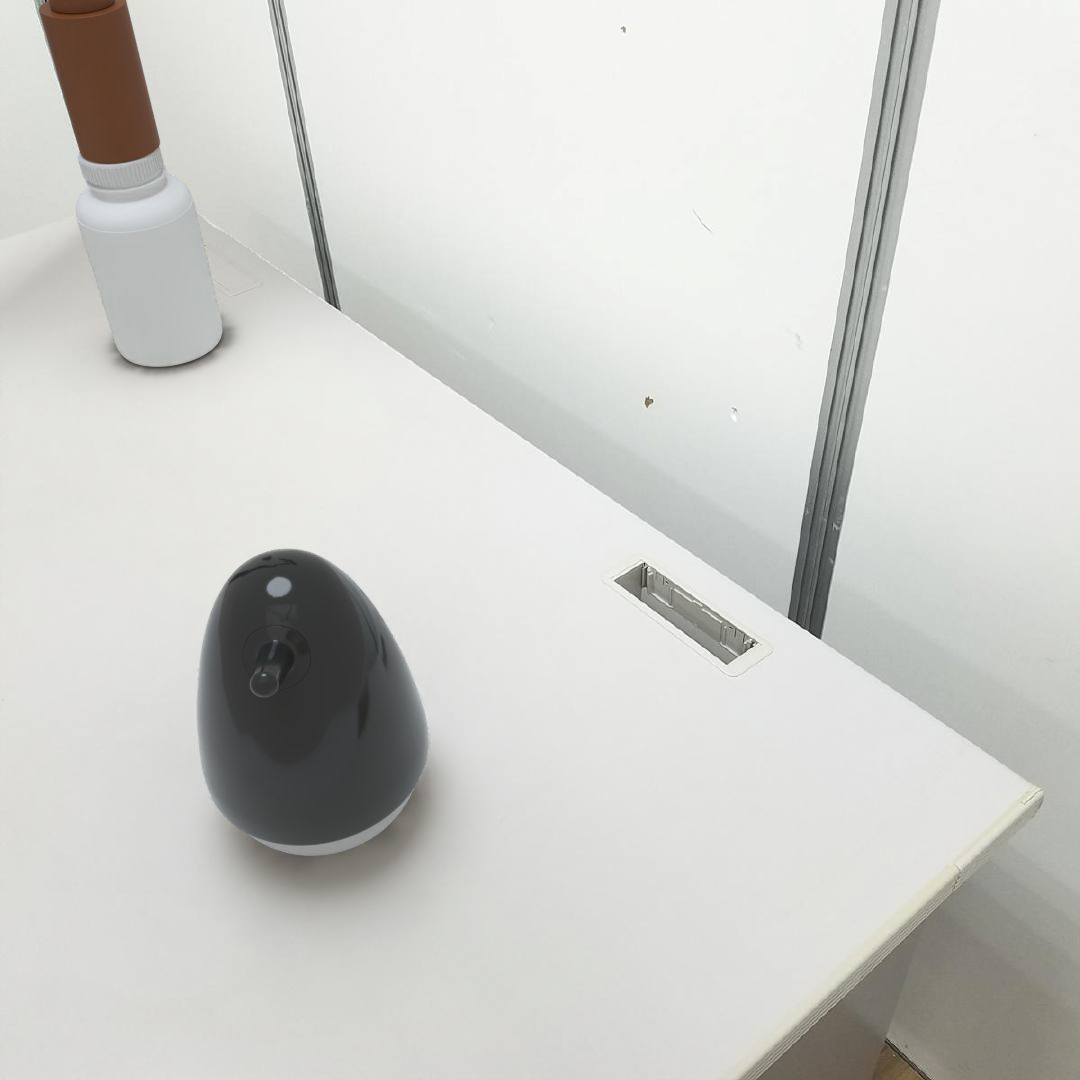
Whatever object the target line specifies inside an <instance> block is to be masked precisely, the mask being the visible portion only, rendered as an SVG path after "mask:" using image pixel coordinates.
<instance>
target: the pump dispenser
mask: <svg viewBox="0 0 1080 1080" xmlns="http://www.w3.org/2000/svg"><path fill="white" fill-rule="evenodd" d="M425 710H426V709H425V707H424V704H423V701H422V697H421V695H420V692H419V689H418V685H417V683H416V680H415V678H414V676H413V672H412V670H411V669H410V666H409V664H408V661H407V660H406V657H405V655H404V653H403V651H402V649H401V647H400V645H399V643H398V641H397V639H396V638H395V636H394V634H393V633H392V631H391V629H390V628H389V626H388V624H387V622H386V620H385V619H384V617H383V616H382V614H381V613H380V612H379V610H378V609H377V607H376V605H374V602H373V601H372V600H371V599H370V597H369V596H368V595H367V594H366V593H365V592H364V590H363V589H362V588H361V586H360V585H359V584H357V583H356V582H355V580H353V578H351V576H349V575H348V573H346V571H344V570H343V569H341V568H340V567H338V565H336V564H334V563H333V562H332V561H330V560H328V559H326V558H325V557H323V556H321V555H319V554H316V553H314V552H312V551H309V550H304V549H298V548H277V549H271V550H268V551H265V552H261V553H258V554H257V555H255V556H253V557H251V558H249V559H247V560H246V561H244V562H243V563H242V564H241V565H239V566H238V567H237V568H236V569H235V570H234V571H233V572H232V574H231V575H230V576H229V577H228V578H227V580H226V581H225V582H224V584H223V585H222V588H221V589H220V591H219V593H218V594H217V596H216V598H215V600H214V603H213V605H212V607H211V609H210V612H209V616H208V619H207V622H206V625H205V629H204V633H203V637H202V642H201V649H200V656H199V664H198V676H197V687H196V731H197V732H196V733H197V743H198V751H199V760H200V765H201V770H202V774H203V779H204V782H205V785H206V789H207V791H208V793H209V796H210V798H211V800H212V802H213V804H214V805H215V807H216V809H217V810H218V811H219V812H220V814H222V816H223V817H224V818H225V819H226V820H227V821H228V822H229V823H230V824H231V825H233V826H234V827H236V828H237V829H238V830H240V831H242V832H243V833H245V834H247V835H248V836H250V837H251V838H252V839H254V840H256V841H257V842H258V843H261V844H262V845H264V846H267V847H268V848H271V849H273V850H277V851H278V852H282V853H285V854H290V855H296V856H305V857H319V856H328V855H334V854H339V853H342V852H345V851H348V850H351V849H354V848H356V847H358V846H360V845H362V844H364V843H366V842H368V841H370V840H372V839H373V838H374V837H376V836H377V835H379V834H380V833H381V832H383V831H384V830H385V829H386V828H388V826H389V825H391V824H392V822H394V820H395V819H397V817H398V816H399V815H400V814H401V812H402V810H404V808H405V806H406V805H407V803H408V802H409V800H410V798H411V797H412V794H413V792H414V790H415V788H416V786H417V785H418V783H419V781H420V779H421V777H422V776H423V773H424V770H425V768H426V765H427V760H428V757H429V747H430V736H429V735H430V734H429V725H428V720H427V714H426V711H425Z"/></svg>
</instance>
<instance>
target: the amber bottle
mask: <svg viewBox="0 0 1080 1080" xmlns="http://www.w3.org/2000/svg"><path fill="white" fill-rule="evenodd" d="M38 13H39V16H40V20H41V23H42V27H43V30H44V34H45V37H46V41H47V44H48V47H49V48H48V49H49V52H50V55H51V58H52V61H53V65H54V69H55V72H56V75H57V79H58V82H59V85H60V88H61V92H62V96H63V100H64V102H65V106H66V109H67V113H68V117H69V120H70V123H71V127H72V129H73V133H74V137H75V141H76V144H77V148H78V151H79V152H80V154H81V156H82V157H83V158H85V159H87V160H89V161H93V162H99V163H119V162H126V161H131V160H135V159H138V158H142V157H144V156H147V155H149V154H151V153H152V152H154V151H155V150H156V149H157V148H158V147H160V145H161V138H160V135H159V131H158V126H157V121H156V118H155V113H154V110H153V105H152V101H151V98H150V93H149V90H148V85H147V81H146V77H145V72H144V68H143V64H142V61H141V55H140V52H139V47H138V43H137V39H136V35H135V31H134V26H133V21H132V19H131V14H130V10H129V5H128V2H127V0H47V1H45V2H43V3H42V4H41V5H40V6H39V7H38Z"/></svg>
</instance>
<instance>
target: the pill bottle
mask: <svg viewBox="0 0 1080 1080" xmlns="http://www.w3.org/2000/svg"><path fill="white" fill-rule="evenodd" d="M161 150H162V149H161V146H159V147H158V148H157V149H156V150H155V151H154V152H152V153H151V154H149V155H147V156H144V157H142V158H138V159H135V160H131V161H126V162H119V163H99V162H93V161H89V160H87V159H85V158H83V157H82V156H81V154H80V151H79V152H78V155H77V160H78V164H79V168H80V170H81V173H82V177H83V179H84V180H85V183H86V185H87V186H86V187H85V188H84V189H83V190H82V191H81V193H80V194H79V195H78V197H77V200H76V202H75V219H76V222H77V226H78V228H79V232H80V235H81V239H82V241H83V245H84V248H85V252H86V255H87V258H88V262H89V264H90V267H91V271H92V274H93V277H94V281H95V284H96V287H97V291H98V294H99V297H100V300H101V303H102V307H103V309H104V313H105V316H106V320H107V323H108V326H109V329H110V332H111V335H112V338H113V341H114V343H115V346H116V349H117V351H118V352H119V353H120V354H121V356H122V357H123V358H125V359H126V360H127V361H128V362H131V363H133V364H136V365H139V366H143V367H144V366H145V367H155V368H157V367H158V368H161V367H171V366H178V365H181V364H185V363H189V362H192V361H194V360H196V359H199V358H202V357H203V356H205V355H206V354H208V353H209V352H210V351H212V350H213V349H214V348H215V347H216V346H217V345H218V344H219V342H220V340H221V339H222V335H223V319H222V316H221V315H222V314H221V311H220V306H219V302H218V297H217V294H216V289H215V286H214V285H215V284H214V281H213V276H212V272H211V269H210V264H209V260H208V256H207V251H206V246H205V241H204V238H203V233H202V229H201V225H200V221H199V217H198V211H197V209H196V208H197V207H196V204H195V200H194V196H193V194H192V192H191V190H190V188H188V186H187V184H186V183H184V181H183V180H182V179H180V178H179V177H177V176H176V175H173V174H171V173H169V172H168V170H167V167H166V165H165V163H164V158H163V155H162V151H161Z"/></svg>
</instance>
